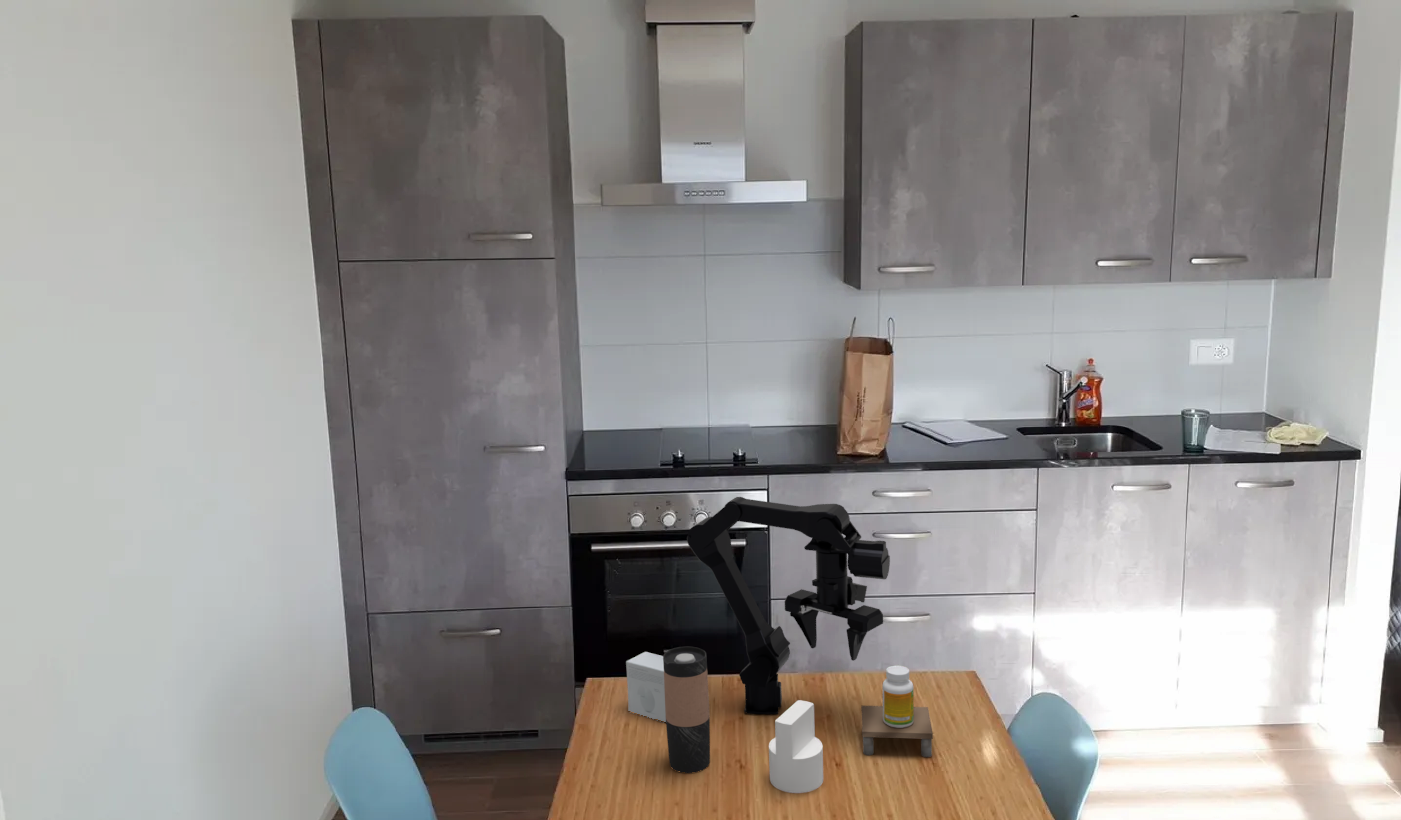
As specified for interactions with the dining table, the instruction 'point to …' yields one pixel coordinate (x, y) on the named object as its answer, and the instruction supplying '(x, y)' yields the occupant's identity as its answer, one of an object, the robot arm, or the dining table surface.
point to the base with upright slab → (796, 751)
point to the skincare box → (646, 685)
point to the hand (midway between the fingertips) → (833, 653)
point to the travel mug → (687, 708)
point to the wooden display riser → (896, 729)
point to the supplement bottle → (898, 698)
